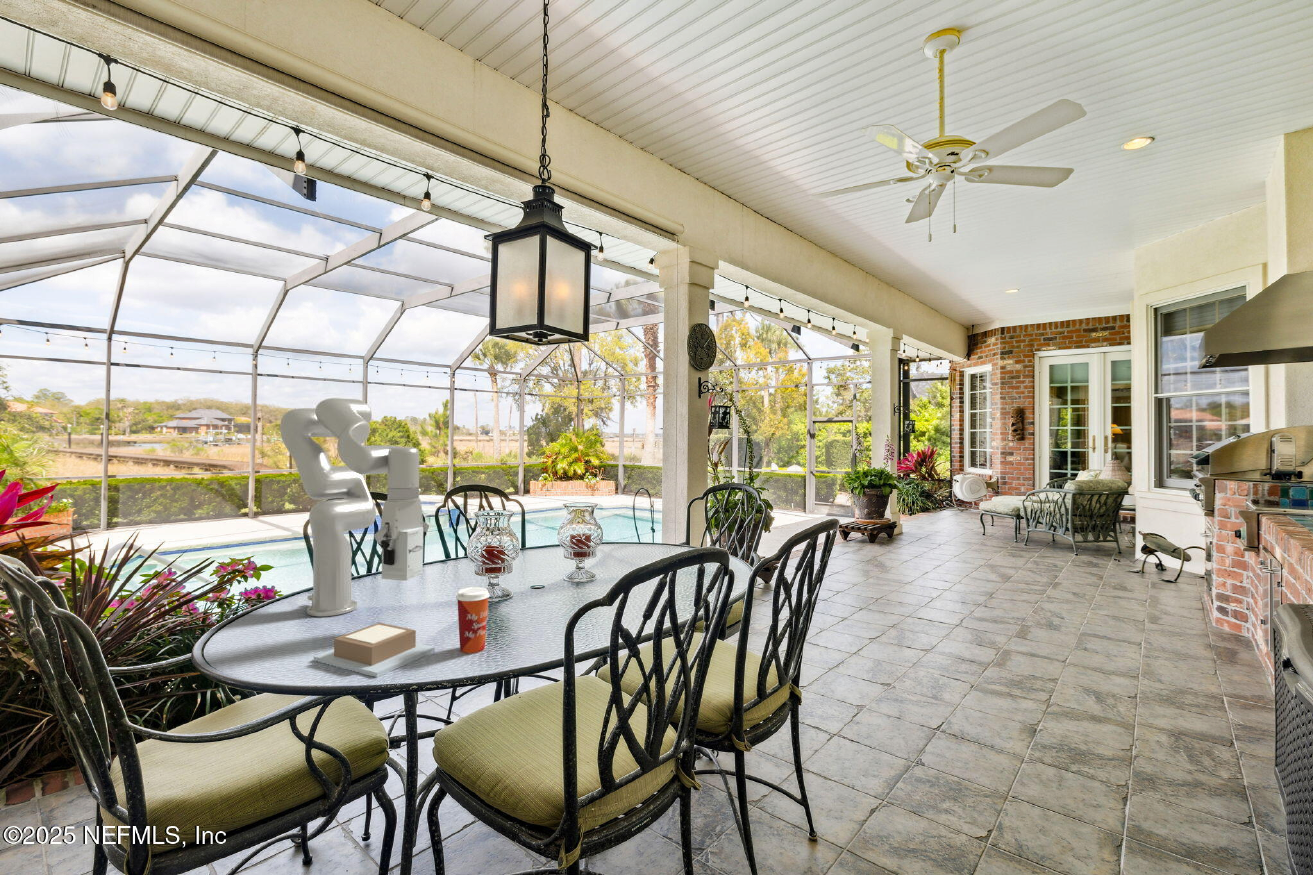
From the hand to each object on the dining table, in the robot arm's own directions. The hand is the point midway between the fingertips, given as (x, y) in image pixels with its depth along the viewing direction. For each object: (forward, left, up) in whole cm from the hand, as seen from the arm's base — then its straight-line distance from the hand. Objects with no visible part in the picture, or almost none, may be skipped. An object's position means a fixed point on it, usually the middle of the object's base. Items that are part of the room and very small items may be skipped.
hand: (402, 560), depth 151 cm
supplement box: (0, 0, -4) cm, 4 cm away
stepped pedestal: (+9, -16, -18) cm, 25 cm away
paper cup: (+26, -3, -18) cm, 32 cm away
